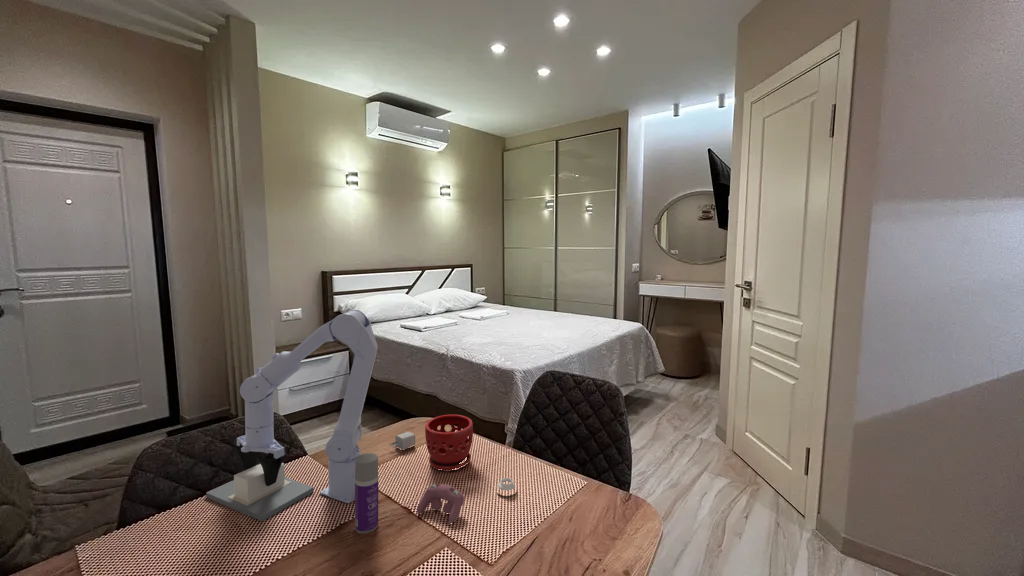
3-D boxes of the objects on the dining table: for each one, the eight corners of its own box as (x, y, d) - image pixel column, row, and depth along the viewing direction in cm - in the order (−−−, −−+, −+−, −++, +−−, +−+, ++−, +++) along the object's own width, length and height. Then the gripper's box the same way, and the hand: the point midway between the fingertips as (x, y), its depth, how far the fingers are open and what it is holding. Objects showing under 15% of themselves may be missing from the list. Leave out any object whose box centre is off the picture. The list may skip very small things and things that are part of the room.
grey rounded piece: (515, 499, 100) (517, 488, 105) (515, 487, 100) (517, 476, 105) (494, 497, 101) (497, 486, 106) (495, 485, 101) (497, 475, 106)
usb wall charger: (415, 447, 127) (415, 434, 126) (394, 454, 122) (394, 441, 121) (407, 443, 129) (407, 430, 129) (387, 450, 124) (387, 437, 124)
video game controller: (461, 524, 93) (468, 490, 95) (451, 525, 89) (459, 490, 91) (424, 512, 97) (432, 480, 99) (413, 513, 93) (422, 479, 95)
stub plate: (313, 492, 101) (313, 480, 101) (261, 521, 89) (261, 508, 89) (260, 472, 110) (259, 461, 109) (206, 497, 98) (205, 485, 98)
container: (370, 535, 86) (371, 464, 85) (350, 531, 87) (350, 461, 86) (382, 521, 90) (382, 454, 90) (362, 518, 91) (362, 451, 90)
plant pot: (433, 451, 124) (434, 412, 123) (476, 455, 122) (477, 415, 121) (417, 473, 111) (418, 429, 110) (465, 478, 109) (466, 433, 109)
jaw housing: (284, 483, 102) (284, 463, 102) (248, 502, 94) (247, 480, 94) (271, 478, 104) (271, 459, 104) (234, 496, 96) (233, 475, 96)
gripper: (223, 424, 98) (224, 480, 99) (263, 436, 92) (264, 496, 93) (252, 414, 104) (253, 467, 105) (292, 425, 98) (292, 481, 99)
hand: (260, 480), depth 99 cm, fingers open, 7 cm apart
